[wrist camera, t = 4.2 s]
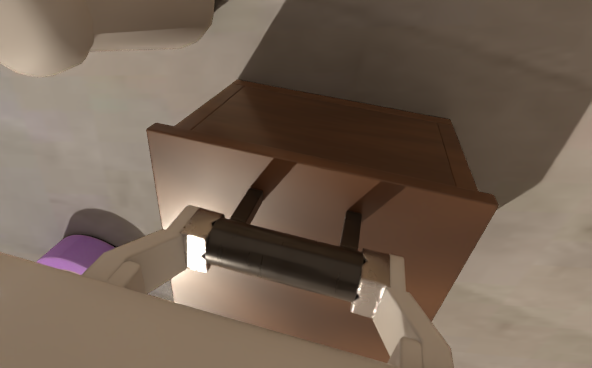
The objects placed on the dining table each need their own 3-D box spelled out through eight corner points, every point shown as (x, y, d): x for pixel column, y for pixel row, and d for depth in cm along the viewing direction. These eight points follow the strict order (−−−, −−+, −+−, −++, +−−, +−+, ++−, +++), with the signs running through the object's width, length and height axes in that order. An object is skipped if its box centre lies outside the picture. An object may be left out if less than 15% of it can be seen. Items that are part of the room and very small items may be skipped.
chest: (236, 79, 24) (158, 137, 16) (450, 119, 22) (486, 208, 14) (235, 239, 33) (185, 328, 25) (387, 278, 31) (385, 388, 23)
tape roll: (146, 312, 45) (128, 338, 42) (67, 281, 45) (43, 304, 42) (145, 255, 38) (123, 281, 35) (52, 220, 38) (22, 242, 35)
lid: (155, 121, 15) (70, 177, 11) (494, 193, 13) (540, 293, 9) (184, 329, 25) (144, 400, 21) (385, 389, 23) (385, 481, 19)
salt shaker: (228, -56, 20) (40, -80, 9) (229, 46, 23) (90, 116, 12) (139, -68, 20) (-132, -103, 10) (151, 33, 24) (-42, 87, 13)
